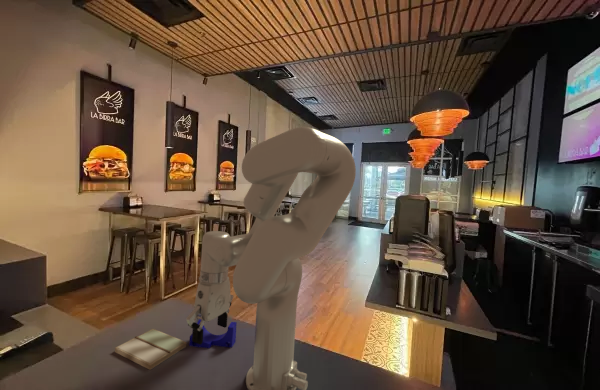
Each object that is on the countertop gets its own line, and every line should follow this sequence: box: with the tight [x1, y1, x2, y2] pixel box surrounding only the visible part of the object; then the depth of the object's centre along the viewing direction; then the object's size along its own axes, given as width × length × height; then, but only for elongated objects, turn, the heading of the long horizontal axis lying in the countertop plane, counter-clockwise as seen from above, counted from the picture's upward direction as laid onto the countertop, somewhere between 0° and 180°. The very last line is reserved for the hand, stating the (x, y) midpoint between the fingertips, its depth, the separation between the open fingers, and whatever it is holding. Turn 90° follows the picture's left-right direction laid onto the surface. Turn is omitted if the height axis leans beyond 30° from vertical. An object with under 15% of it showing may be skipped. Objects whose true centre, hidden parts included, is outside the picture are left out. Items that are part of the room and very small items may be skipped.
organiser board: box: [114, 328, 187, 371], centre depth 73 cm, size 14×11×2 cm
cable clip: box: [188, 319, 237, 349], centre depth 77 cm, size 12×4×6 cm, turn 85°
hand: (210, 333), depth 76 cm, fingers open, 9 cm apart
